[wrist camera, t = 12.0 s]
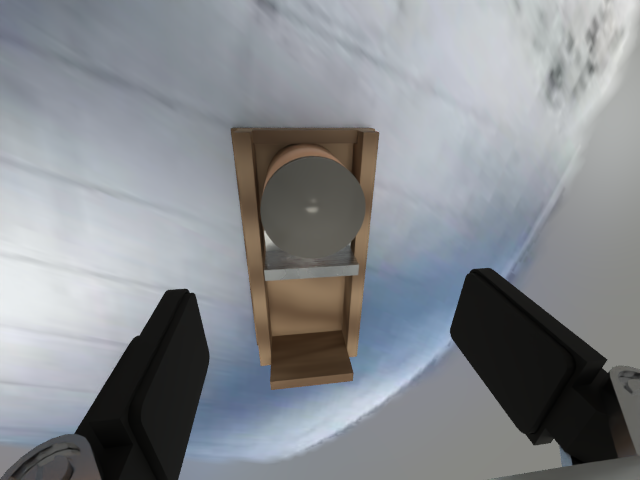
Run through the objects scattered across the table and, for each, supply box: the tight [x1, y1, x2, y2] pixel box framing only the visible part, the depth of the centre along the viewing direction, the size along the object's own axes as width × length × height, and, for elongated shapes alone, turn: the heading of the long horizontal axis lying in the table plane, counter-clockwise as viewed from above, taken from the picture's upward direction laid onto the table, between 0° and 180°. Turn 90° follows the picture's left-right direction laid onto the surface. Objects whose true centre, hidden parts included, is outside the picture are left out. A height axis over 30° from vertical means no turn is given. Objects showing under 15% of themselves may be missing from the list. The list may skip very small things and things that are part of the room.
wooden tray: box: [231, 128, 379, 390], centre depth 26 cm, size 24×12×7 cm, turn 179°
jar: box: [260, 144, 366, 258], centre depth 21 cm, size 7×7×8 cm
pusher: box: [264, 229, 359, 281], centre depth 24 cm, size 3×8×6 cm, turn 89°
